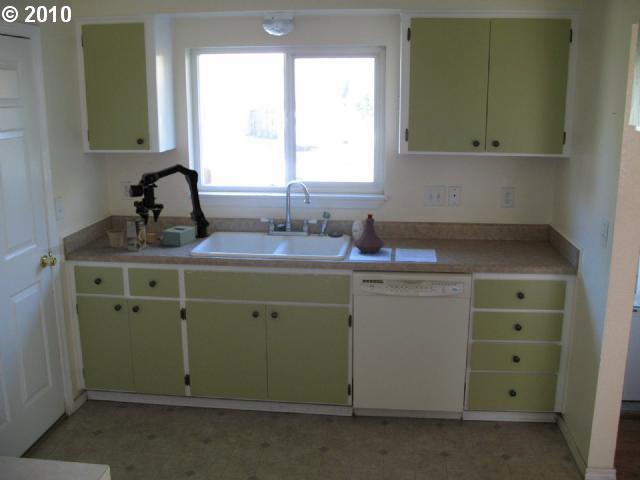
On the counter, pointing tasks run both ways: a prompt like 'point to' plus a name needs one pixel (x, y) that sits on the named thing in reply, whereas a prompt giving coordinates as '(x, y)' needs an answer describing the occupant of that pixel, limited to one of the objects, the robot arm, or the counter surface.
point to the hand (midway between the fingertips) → (150, 223)
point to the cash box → (178, 236)
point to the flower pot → (116, 237)
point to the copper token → (151, 238)
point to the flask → (369, 238)
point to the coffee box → (136, 234)
